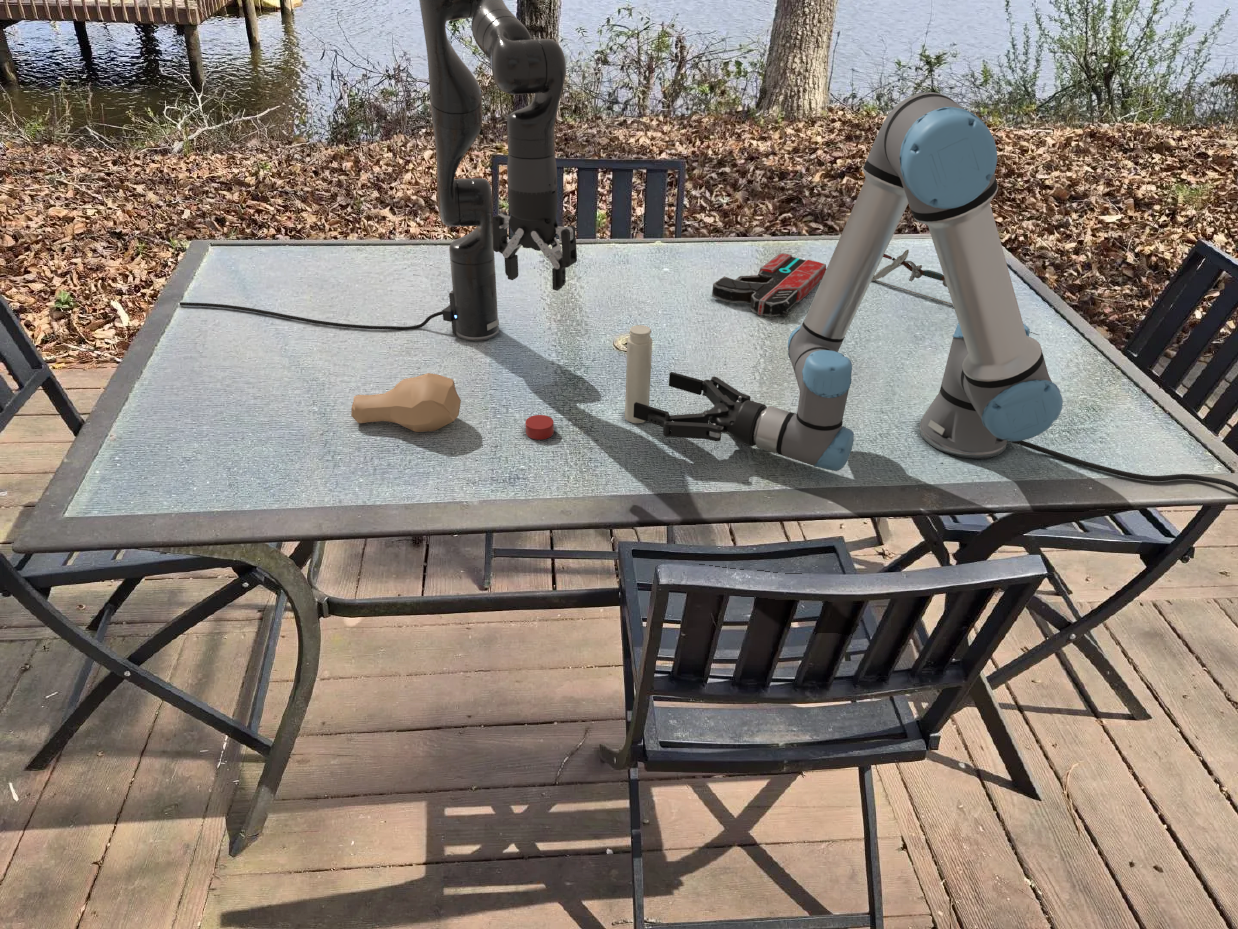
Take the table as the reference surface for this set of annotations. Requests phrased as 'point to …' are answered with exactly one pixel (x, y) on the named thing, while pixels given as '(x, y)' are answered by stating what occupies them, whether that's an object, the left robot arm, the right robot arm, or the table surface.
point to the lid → (539, 427)
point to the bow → (915, 270)
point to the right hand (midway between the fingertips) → (652, 393)
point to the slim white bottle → (638, 370)
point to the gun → (772, 285)
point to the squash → (412, 404)
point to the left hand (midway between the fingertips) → (535, 283)
